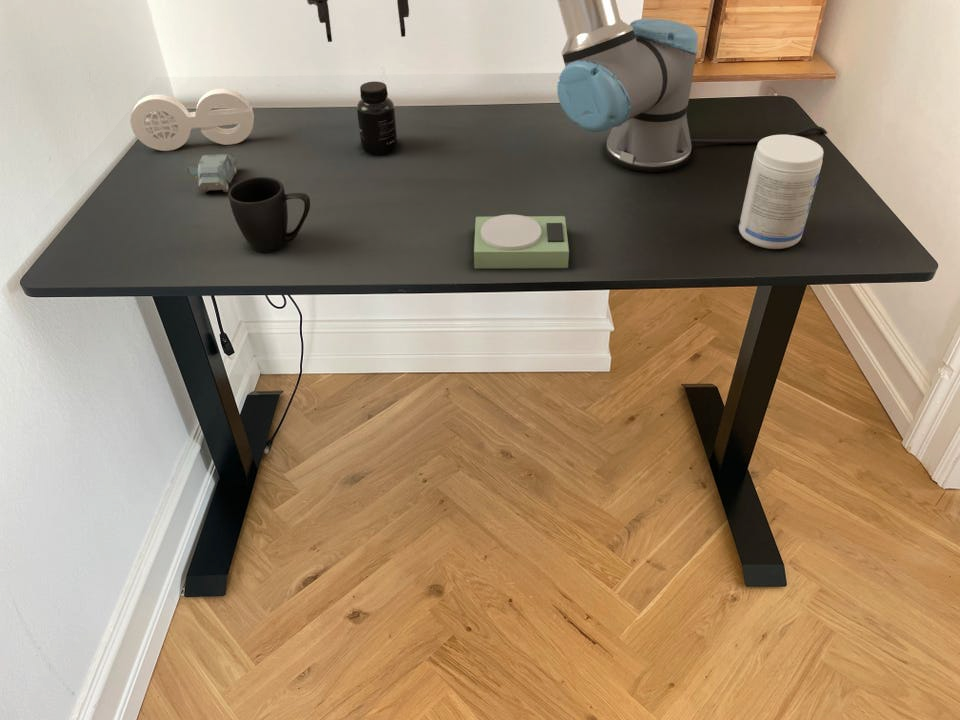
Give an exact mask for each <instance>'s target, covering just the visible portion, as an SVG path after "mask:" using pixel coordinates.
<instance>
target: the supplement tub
mask: <svg viewBox="0 0 960 720" xmlns="http://www.w3.org/2000/svg"><path fill="white" fill-rule="evenodd" d="M762 138H763V139H761V138H760V139H761V140H760V141H759V142H758V143H756V144H757V145H756V148H755V151H754V154H753V159H752V163H751V167H750V172H749V176H748V181H747V186H746V190H745V195H744V199H743V200H744V201H743V204H742V209H741V214H740V219H739V224H738V230H739V234H740V235H741V237H742V238H743V239H744V240H745V241H746V242H749V243H751V244H753V245H754V246H757V247H760V248H764V249H769V250H782V249H788V248H791V247H793V246H795V245H796V244H798V243H799V242H800V241H801V239H802V237H803V234H804V231H805V227H806V223H807V220H808V216H809V213H810V209H811V206H812V202H813V199H814V195H815V191H816V188H817V184H818V180H819V177H820V174H821V169H822V165H823V158H824V148H823V147H822V146H821V145H820V144H819V143H817V142H816V141H815V140H812V139H809V138H807V137H804V136H799V135H796V136H794V135H781V134H773V135H769V136H766V137H762Z"/></svg>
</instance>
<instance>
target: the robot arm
mask: <svg viewBox="0 0 960 720" xmlns="http://www.w3.org/2000/svg"><path fill="white" fill-rule="evenodd" d="M328 1H329V0H306V3H307V4H308V5H310V6H312V5H314V6H316V8H317V17H318V21H319V22H320V24H325V32H326V38H327V39H326V40H327V42H328V43H331V42H333V37H332V36H333V35H332V29H331V28H332V27H331V20H330V19H331V18H330V11H329V4H328ZM396 1H397V2H396V3H397V5H396V6H397V12H398V19H399V21H398V22H399V28H400V29H399V30H400V37H401V38H405V37H406V26H405V25H406V23H405V18H410V17H409V16H410V7H409V0H396ZM556 2H557V5H558V9H559V13H560V16H561V21H562V24H563V27H564V30H565V35H566V42H565V45H564V46H563V49H562V51H561V57H562V59H563V63H564V64H563V65H564V66H565V67H564V68H563V69H562V71H561V72H560V74H559V76H558V80H559V81H557V83H556V89H557V90H556V92H557V97H558V102H559V105H560V106H561V108H562V110H563V112H564V113H565V115H566V116H567V118H568V119H570V121H571V122H572V123H573V124H575V125H578V126H579V128H581V129H582V130H585V131H588V132H593V133H601V132H605V131H608V130H610V129H611V130H610V133H609V134H608V137H607V140H606V148H605V154H606V155H607V157H608V159H609V160H610V161H612V162H613V163H615V164H616V165H618V166H620V167H623V168H625V169H628V170H632V171H637V172H644V173H662V172H669V171H673V170H676V169H679V168H682V167H683V166H684V165H686V164H687V163H688V162H689V160H690V159H691V152H692V147H693V146H692V144H718V145H719V144H721V145H723V144H724V145H727V144H729V145H731V144H733V145H734V144H736V145H737V144H738V145H739V144H758V142H759V141H760V140H761V139H763V138H764V137H762V138H749V139H748V138H747V139H746V138H745V139H740V138H739V139H734V138H733V139H731V138H730V139H729V138H728V139H723V138H722V139H721V138H719V139H717V138H691V134H690V129H689V123H688V118H687V112H688V106H689V101H690V94H691V90H692V84H693V83H692V82H693V79H694V77H693V76H694V72H695V66H696V60H697V55H698V52H699V51H698V44H699V43H698V42H699V35H698V32H697V30H695V29H694V28H693V27H692V26H690V25H688V24H687V23H686V24H685V23H682V22H678V21H675V20H669V19H664V18H663V19H662V18H640V19H639V18H638V19H635V20H633V21H631V22H630V23H629V24H628V23H626V22H624V21H623V19H621V15H620V12H619V9H618V4H617V0H556ZM813 131H817V132H820V133H821V134H822V135H827V134H828V132H827V130H826V129H825V128H823V126H819V125H818V126H817V125H816V126H814V125H813V126H810V127H809V126H808V127H805V128H803V129H799V130H796V131H790V132H785V133H781V134H780V135H794V136H799V135H803V134H806V133H809V132H813Z"/></svg>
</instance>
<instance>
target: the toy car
mask: <svg viewBox="0 0 960 720" xmlns="http://www.w3.org/2000/svg"><path fill="white" fill-rule="evenodd" d="M237 164H238V159H237V157H235V156H232V155H228V154H226V153H216V154H206V155H205V154H203V155H202V156H201V158H200V159H199V162H198V165H197V166H186V167H187V168H186V169H187V171H188V175H189V178H190V179H191V180H198V189H199V191H202V193H204V194H206V193H208V192H209V191H223V192H224V193H228V192H229V190H230V187H229V184H231V183H232V180H233V179H234V176H235V175H237V171H238V170H237Z"/></svg>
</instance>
